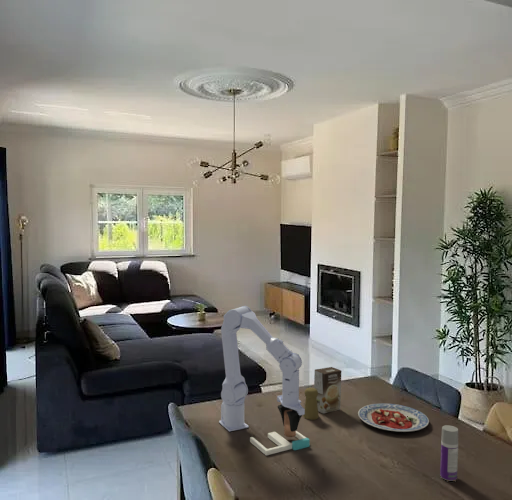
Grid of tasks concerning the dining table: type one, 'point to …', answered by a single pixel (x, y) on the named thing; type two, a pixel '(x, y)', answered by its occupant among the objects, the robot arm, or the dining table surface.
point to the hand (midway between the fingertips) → (290, 428)
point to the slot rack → (281, 443)
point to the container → (449, 453)
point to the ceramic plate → (393, 417)
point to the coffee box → (328, 389)
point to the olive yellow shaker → (311, 404)
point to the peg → (288, 426)
